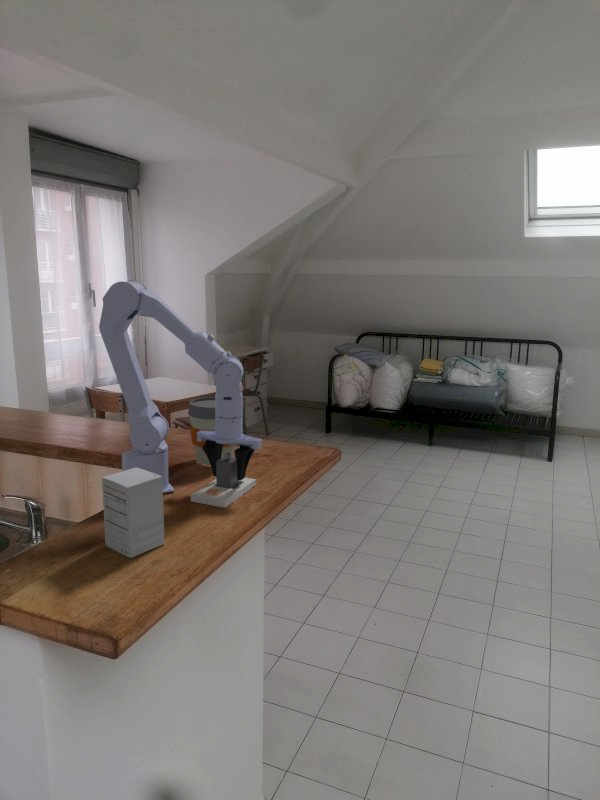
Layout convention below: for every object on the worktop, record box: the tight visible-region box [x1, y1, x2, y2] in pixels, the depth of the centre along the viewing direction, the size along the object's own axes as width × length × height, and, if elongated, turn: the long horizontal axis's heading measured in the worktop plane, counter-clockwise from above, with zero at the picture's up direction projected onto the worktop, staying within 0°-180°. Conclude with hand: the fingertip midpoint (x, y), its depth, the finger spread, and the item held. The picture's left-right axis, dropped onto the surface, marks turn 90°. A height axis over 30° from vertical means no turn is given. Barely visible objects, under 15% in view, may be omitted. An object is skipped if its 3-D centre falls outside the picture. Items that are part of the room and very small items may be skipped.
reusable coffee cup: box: [188, 396, 236, 465], centre depth 153 cm, size 13×13×15 cm
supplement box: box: [101, 467, 165, 559], centre depth 107 cm, size 7×7×13 cm
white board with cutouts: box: [189, 477, 257, 509], centre depth 133 cm, size 14×8×2 cm, turn 158°
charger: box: [215, 452, 239, 489], centre depth 134 cm, size 4×4×8 cm
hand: (228, 477), depth 134 cm, fingers open, 5 cm apart
